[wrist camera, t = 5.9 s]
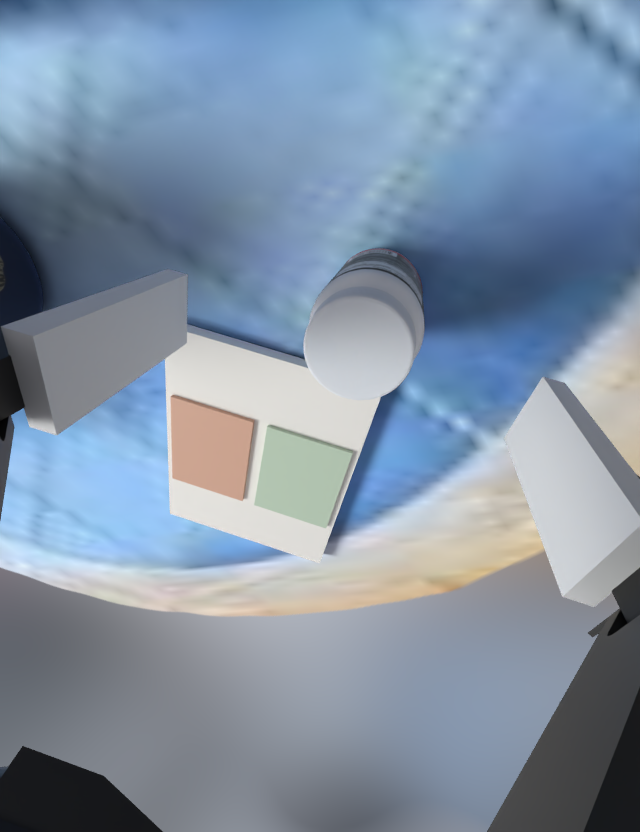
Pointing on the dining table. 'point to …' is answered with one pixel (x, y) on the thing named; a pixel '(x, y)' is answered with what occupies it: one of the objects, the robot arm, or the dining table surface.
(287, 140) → the dining table surface
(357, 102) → the dining table surface
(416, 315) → the pill bottle
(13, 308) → the canister
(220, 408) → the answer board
